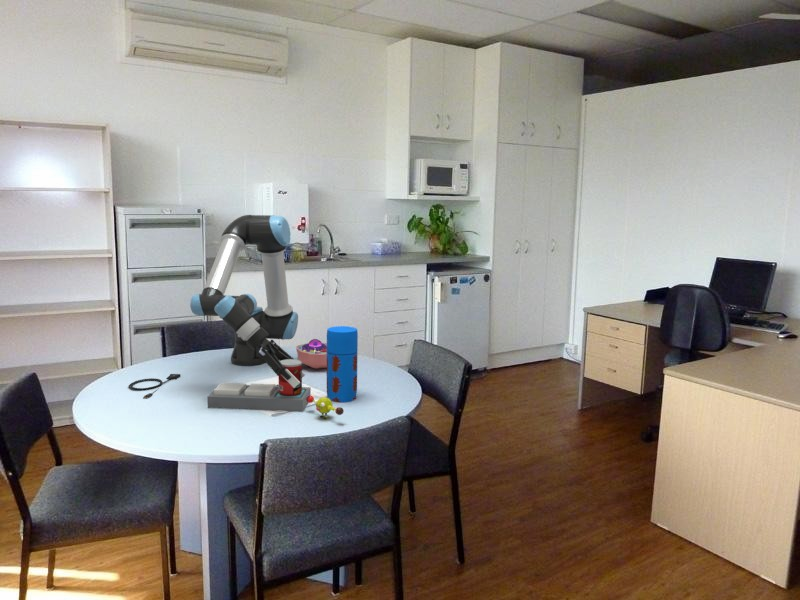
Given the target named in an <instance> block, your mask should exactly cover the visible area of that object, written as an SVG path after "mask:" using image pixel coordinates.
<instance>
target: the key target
mask: <svg viewBox="0 0 800 600" xmlns="http://www.w3.org/2000/svg"><path fill="white" fill-rule="evenodd" d="M304 392H305V390H302V392H301V394H299V395H296V396H283V395H281V394H280V393H279V392H278V394H277V395H276V396H275V397H298V398H301V397H302V396H303V394H304Z"/></svg>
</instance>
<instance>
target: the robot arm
mask: <svg viewBox="0 0 800 600" xmlns="http://www.w3.org/2000/svg"><path fill="white" fill-rule="evenodd" d="M219 243H220V246H219V249H218V252H217V254H216V256H215V259H214V262H213V263H212V266H211V269H210V271H209V274H208V275H207V279H206V281H205V284H204V287H203V290H201V291H202V292H201V293H195V294H194V295H192V297H191V299H190V310H191V312H192V314H193V315H195V316H204V317H219V318H220V319H221V320H222V321H224V323H225V324H226V325H228V326H229V327H230V328H231V329H232V330H233V331H234V347H233V350H232V353H231V357H230V363H231V364H232V365H237V366H241V367H242V366H245V367H246V366H247V367H250V366H252V367H253V366H258V365H264V364H265V363H266V364H267V365H268V367H270V369H271V370H272V371H273V372H274V373H275V374H276V376H278V377H279V375H280V374H281V375H282V376H283V377H284V378H285V379H286V380H287V381H288V382H289V383H290V384H291V385H292V386H293V387H294V388H295V387H296V386H297V385H298V384H299V383H300V381H299V380H298V379H297V378H296V377H295V376H294V375H293V374H292V373H291V372H290V371H289V370H288V369H286V370H285V368H284V367H283V365H282V364H281V362H280V361H281V360H286V359H294V358H293V357H292V356H291V355H290V354H289V353H288V352H286V351H285V350H284V349H283V348H282V347H281V346H280V345H279V344H277V343H276V341H275V340H282V341H284V340H292V339H294V337H295V335H296V332H297V329H298V325H299V315H298V312H296V311H293V306H292V305H291V304H289V297H288V287H287V277H286V268H285V265H286V264H285V258H284V257H285V256H284V255H285V254H284V252H285V251H286V250H287V248H288V246H289V245H290V243H291V228H290V224H289V222H288V220H287V218H285V217H284V216H281V215H274V214H272V215H266V214H264V215H263V214H262V215H261V214H253V215H252V214H245V215H241V216H240V217H237V218H236V219H235V220H233V221H232V222H231V223H229V225H227V227H226V228H225V229H224V231H223V232H222V234H221V236H220V240H219ZM248 245H254V246H256V250H257V253H259V254H261V260H262V270H263V279H264V287H265V294H266V304H267V305H266V307H265V308H264V309H263V307H262V306H258V301H257V299H256V298H255V296H253V295H252V294H250V293H243V294H240V295H229V294H228V295H225V293H226V290H227V288H228V285H229V282H230V279H231V277H232V274H233V272H234V269H235V266H236V263H237V261H238V258H239V255H240V254H241V252H242V251H243V250H244V249H245V247H246V246H248ZM269 339H270V340H269ZM305 376H306V373H305V372H304V371H303V370H302V379H303V378H304V377H305Z"/></svg>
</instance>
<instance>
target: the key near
mask: <svg viewBox="0 0 800 600" xmlns="http://www.w3.org/2000/svg"><path fill="white" fill-rule="evenodd" d="M246 385H247V382H246V383H245V382H221V383H220V384H218V385H217V386H216V388H214V389H213V391H214V394H215V395H240V394H241V393H242V392H243V391H244V390H245V389H246Z"/></svg>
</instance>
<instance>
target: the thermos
mask: <svg viewBox="0 0 800 600" xmlns="http://www.w3.org/2000/svg"><path fill="white" fill-rule="evenodd" d="M358 337H359V335H358V328H356V327H354V326H345V325H344V326H343V325H341V326H340V325H337V326H330V327H328V328H327V332H326V344H327V367H326V397H327V398H329V399H330V400H331V402H335V403H348V402H352V401H355V400H357V395H358V394H357V393H358V392H357V391H358V350H359V349H358V344H359V343H358V339H359V338H358Z"/></svg>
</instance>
